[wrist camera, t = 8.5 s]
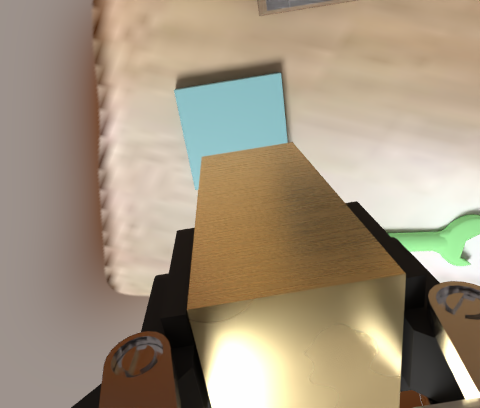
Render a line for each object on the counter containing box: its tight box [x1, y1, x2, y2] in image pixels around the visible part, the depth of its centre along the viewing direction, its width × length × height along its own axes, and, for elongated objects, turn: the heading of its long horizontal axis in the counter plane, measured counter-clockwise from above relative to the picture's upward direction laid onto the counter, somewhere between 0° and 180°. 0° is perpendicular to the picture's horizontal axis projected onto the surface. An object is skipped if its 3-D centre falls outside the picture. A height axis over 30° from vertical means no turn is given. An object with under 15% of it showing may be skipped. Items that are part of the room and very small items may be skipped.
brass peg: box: [187, 142, 406, 408], centre depth 12 cm, size 4×4×10 cm
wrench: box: [388, 214, 480, 266], centre depth 34 cm, size 25×2×5 cm
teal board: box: [174, 72, 288, 190], centre depth 29 cm, size 8×8×1 cm
